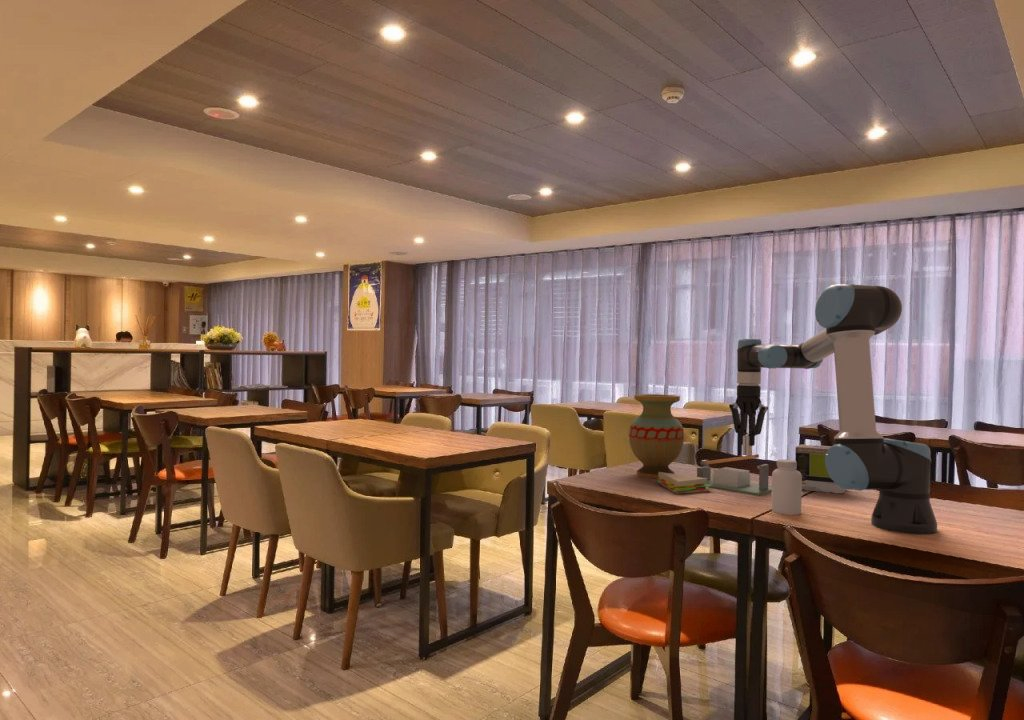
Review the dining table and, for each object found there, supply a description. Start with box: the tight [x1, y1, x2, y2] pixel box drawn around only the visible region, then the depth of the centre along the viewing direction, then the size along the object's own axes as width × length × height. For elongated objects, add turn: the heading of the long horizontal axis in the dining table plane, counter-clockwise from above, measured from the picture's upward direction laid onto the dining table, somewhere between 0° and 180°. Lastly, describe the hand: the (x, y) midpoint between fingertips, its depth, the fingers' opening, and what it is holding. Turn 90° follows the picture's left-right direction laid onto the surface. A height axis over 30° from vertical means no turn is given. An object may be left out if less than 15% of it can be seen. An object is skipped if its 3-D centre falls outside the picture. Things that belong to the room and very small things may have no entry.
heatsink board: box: [696, 463, 772, 497], centre depth 234 cm, size 28×16×9 cm, turn 44°
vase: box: [628, 393, 685, 479], centre depth 252 cm, size 20×20×30 cm
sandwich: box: [657, 472, 712, 494], centre depth 228 cm, size 15×20×5 cm
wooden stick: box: [698, 453, 760, 467], centre depth 234 cm, size 21×4×2 cm, turn 44°
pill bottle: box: [771, 459, 803, 516], centre depth 196 cm, size 8×8×15 cm
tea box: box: [794, 444, 847, 494], centre depth 232 cm, size 15×10×15 cm, turn 58°
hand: (747, 455), depth 229 cm, fingers closed
